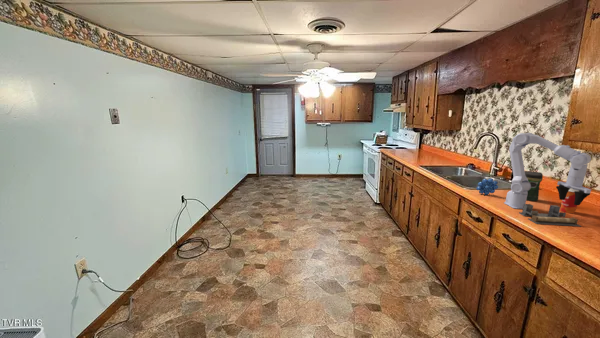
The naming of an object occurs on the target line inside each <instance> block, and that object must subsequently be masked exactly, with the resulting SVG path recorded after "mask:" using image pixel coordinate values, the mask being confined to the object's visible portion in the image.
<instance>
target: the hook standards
mask: <svg viewBox="0 0 600 338" xmlns="http://www.w3.org/2000/svg"><path fill="white" fill-rule="evenodd" d="M533 209H534V205H533V204H531V203H526V204H524V206H523V209H522V211H519V212H518V214H520V215H521V216H523V217H531V218H532V216H533V215H535V216H538V217H556V218H566V214H567V213H566V212H563V211H561V206H558V205H553V204H552V205H551V204H550V206H549V207H548V209H549V210H548V212H547V213H542V212H541V213H539V211H538V210H533ZM560 211H561V212H560Z"/></svg>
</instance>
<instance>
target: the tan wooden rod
mask: <svg viewBox="0 0 600 338" xmlns="http://www.w3.org/2000/svg"><path fill="white" fill-rule="evenodd" d="M531 219H532V220H533V221H535V222H537V221H544V222H561V223H573V224H578V221H579V219H578V218H575V217H561V218H556V217H538V216H535V215H533V216H532V217H531Z"/></svg>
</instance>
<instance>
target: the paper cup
mask: <svg viewBox="0 0 600 338" xmlns="http://www.w3.org/2000/svg"><path fill="white" fill-rule="evenodd" d="M574 191H578V190H575V189H571V188H570V189H569V191H568V192H567V195H566V198H565V200H561V204H560V205H561V206H560V211H561V212H564V213H566V214H575V213H576V211H577V207H578V205H574V201H575V193H574Z"/></svg>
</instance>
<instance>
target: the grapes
mask: <svg viewBox="0 0 600 338" xmlns="http://www.w3.org/2000/svg"><path fill="white" fill-rule="evenodd" d="M475 189H476V190H477V191H478V193H479V195H480V194H481V195H482V194H484V195H485V196H487V195H489V194H494V193H495V192H496V190H497V189H499V185H498V180H494V178H491V177H490V178H488V179H487V178H483V179H482V180H481V181H479V182H478V183H477V187H476V188H475Z"/></svg>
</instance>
